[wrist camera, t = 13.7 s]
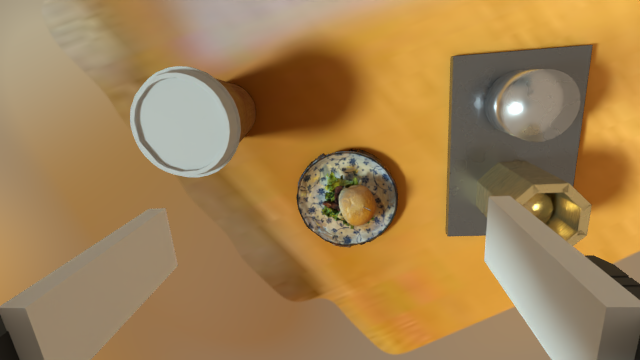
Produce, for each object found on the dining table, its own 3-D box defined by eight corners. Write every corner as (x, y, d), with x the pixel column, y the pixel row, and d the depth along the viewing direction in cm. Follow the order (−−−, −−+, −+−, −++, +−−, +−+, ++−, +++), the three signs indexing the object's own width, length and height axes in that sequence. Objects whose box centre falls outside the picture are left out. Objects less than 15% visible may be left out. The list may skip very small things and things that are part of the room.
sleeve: (478, 163, 38) (508, 185, 31) (546, 160, 37) (595, 182, 30) (474, 222, 40) (502, 257, 33) (539, 220, 39) (583, 255, 32)
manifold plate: (450, 56, 36) (468, 53, 31) (586, 45, 35) (631, 40, 29) (445, 232, 42) (459, 257, 36) (561, 229, 41) (595, 255, 35)
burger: (294, 150, 41) (281, 166, 34) (396, 144, 40) (404, 159, 33) (304, 242, 45) (294, 274, 38) (398, 239, 43) (406, 272, 36)
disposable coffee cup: (181, 73, 40) (110, 74, 28) (262, 62, 38) (222, 58, 27) (199, 155, 42) (141, 186, 31) (276, 147, 41) (245, 176, 30)
